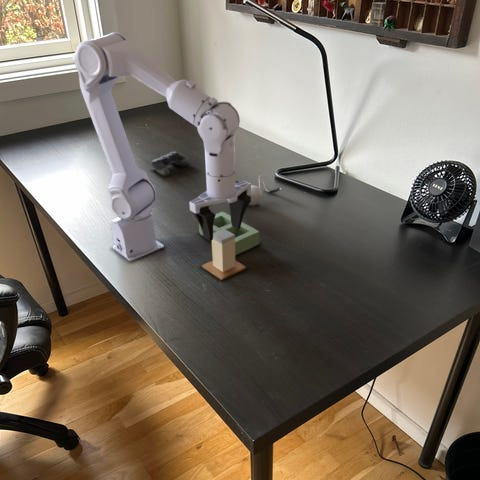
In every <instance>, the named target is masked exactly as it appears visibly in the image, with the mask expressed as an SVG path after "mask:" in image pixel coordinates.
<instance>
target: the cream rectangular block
mask: <svg viewBox="0 0 480 480" xmlns="http://www.w3.org/2000/svg"><path fill="white" fill-rule="evenodd" d="M211 255H212V260H213V266H214V267H216V268H217V269H219V270H221V271H222V272H224V271H226V270H229V269H231V268H233V267H235V260H236V255H235V235H234V234H232V233H231V232H229V231H227V230H225V229H222V230H220V231H218V232H215V233H213V240H212V241H211Z"/></svg>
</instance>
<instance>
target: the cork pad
mask: <svg viewBox="0 0 480 480" xmlns="http://www.w3.org/2000/svg"><path fill="white" fill-rule="evenodd" d="M201 267H202V268H203V269H204V270H205V271H207V272H209V273H210V274H212V276H215V278H217V279H219V280H221V281H224V280H226V279H228V278H230V277H232V276H234V275H236V274H237V273H240V272H242V271H244V270H246V269H247V266H245V265H244V264H243V263H240V262H239V261H237V260H236V259H235V267H233V268H231V269H229V270H226V271H224V272H222V271H221V270H219V269H217V268H216V267H214V266H213V259H212V260H210V261H208V262H206V263H204V264H202V265H201Z"/></svg>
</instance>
